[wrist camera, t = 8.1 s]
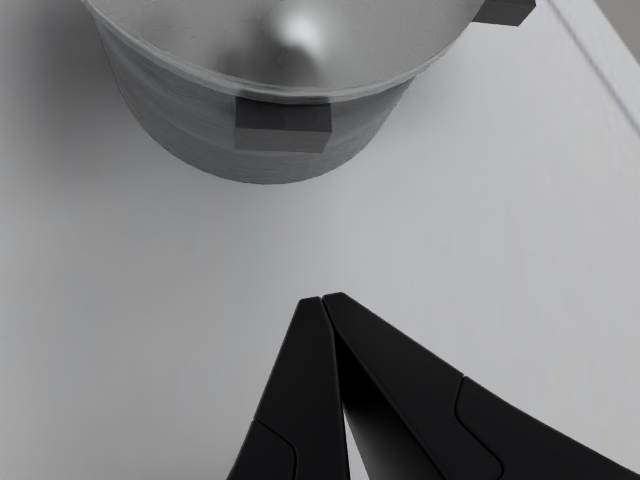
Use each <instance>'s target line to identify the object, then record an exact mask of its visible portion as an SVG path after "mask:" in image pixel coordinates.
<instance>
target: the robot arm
mask: <svg viewBox="0 0 640 480" xmlns="http://www.w3.org/2000/svg"><path fill="white" fill-rule="evenodd" d="M343 410H344V413H345V416H346V418H347V421H348V424H349V427H350V429H351V432H352V435H353V437H354V440H355V442H356V445H357V448H358V450H359V453H360V455H361V458H362V461H363V463H364V466H365V469H366V471H367V474H368V476H369V479H370V480H640V474H637V473H635V472H633V471H631V470H629V469H627V468H625V467H623V466H621V465H619V464H618V463H616V462H614V461H612V460H610V459H608V458H607V457H605V456H603V455H601V454H599V453H597V452H596V451H594V450H592V449H590V448H588V447H586V446H585V445H583V444H581V443H579V442H577V441H575V440H574V439H572V438H570V437H568V436H566V435H564V434H563V433H561V432H559V431H557V430H555V429H553V428H552V427H550V426H548V425H546V424H544V423H542V422H541V421H539V420H537V419H535V418H534V417H532V416H530V415H528V414H527V413H525V412H523V411H521V410H520V409H518V408H516V407H514V406H513V405H511V404H509V403H508V402H506V401H504V400H503V399H501V398H500V397H498V396H497V395H495V394H493V393H492V392H490V391H489V390H487V389H486V388H484V387H483V386H481V385H480V384H478V383H477V382H475V381H474V380H472V379H471V378H469V377H468V376H465V377H464V374H463V373H462V372H460V371H459V370H457V369H456V368H454V367H453V366H451V365H450V364H448V363H447V362H445V361H444V360H442V359H441V358H439V357H438V356H436V355H435V354H434V353H432V352H431V351H429V350H428V349H426V348H425V347H423V346H422V345H420V344H419V343H417V342H416V341H414V340H413V339H411V338H410V337H408V336H407V335H405V334H404V333H402V332H401V331H400V330H398V329H397V328H395V327H394V326H392V325H391V324H389V323H388V322H386V321H385V320H383V319H382V318H380V317H379V316H377V315H376V314H374V313H373V312H371V311H370V310H369V309H367V308H366V307H364V306H363V305H361V304H360V303H358V302H357V301H355V300H354V299H352V298H351V297H349V296H348V295H346V294H345V293H343V292H338V293H333V294H327V295H324V296H323V297H322V299H321V298H320V297H318V296H316V297H311V298H305V299H301V300H300V301H299V302H298V304H297V307H296V309H295V312H294V315H293V317H292V320H291V322H290V325H289V327H288V330H287V333H286V335H285V338H284V340H283V343H282V345H281V348H280V351H279V353H278V356H277V358H276V361H275V363H274V366H273V369H272V371H271V374H270V376H269V379H268V381H267V384H266V387H265V389H264V392H263V394H262V397H261V399H260V402H259V405H258V407H257V410H256V412H255V415H254V418H253V421H252V422H251V425H250V427H249V430H248V432H247V435H246V437H245V440H244V442H243V445H242V447H241V449H240V451H239V454H238V456H237V458H236V461H235V463H234V465H233V467H232V469H231V471H230V473H229V475H228V477H227V479H226V480H351V479H350V470H349V460H348V451H347V442H346V432H345V423H344V413H343Z"/></svg>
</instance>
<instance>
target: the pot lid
mask: <svg viewBox="0 0 640 480" xmlns="http://www.w3.org/2000/svg"><path fill="white" fill-rule="evenodd" d="M80 1H81V2H82V3H83V4H84V5H85V6H86V7H87V9H88V10H89V11H90V12H91V13H92V14H93V15H94V16H95V17H96V18H97V19H98V20H99V22H100V23H101V24H102V25H104V26H105V27H106V28H107V29H108V30H109V31H111V32H112V33H113V34H114V35H115V36H117V37H118V38H119V39H120V40H121V41H123V42H124V43H125V44H126V45H127V46H129V47H130V48H132V49H133V50H135V51H136V52H138V53H139V54H141V55H142V56H144V57H146V58H147V59H149V60H150V61H152V62H153V63H155V64H156V65H158V66H160V67H162V68H164V69H166V70H168V71H170V72H172V73H174V74H176V75H178V76H180V77H182V78H184V79H186V80H188V81H191V82H194V83H196V84H199V85H202V86H205V87H207V88H210V89H213V90H216V91H218V92H221V93H226V94H230V95H234V96H238V97H242V98H247V99H251V100H256V101H264V102H273V103H281V104H325V103H333V102H341V101H349V100H353V99H357V98H361V97H365V96H369V95H373V94H376V93H379V92H382V91H384V90H387V89H389V88H392V87H394V86H396V85H399V84H401V83H404V82H405V81H407V80H409V79H410V78H412V77H414V76H415V75H417V74H419V73H420V72H422V71H424V70H425V69H427V68H428V67H429V66H430V65H432V64H433V63H434V62H435V61H437V60H438V59H439V58H440V57H441V56H443V55H444V54H445V53H446V52H447V51H448V50H449V48H450V47H451V46H452V45H453V44H454V43H455V42H456V41H457V39H458V38H459V37H460V36H461V35H462V33H463V32H464V31H465V29H466V28H467V27H468V25H469V24H470V22H471V21H472V20H473V18H474V17H475V16H476V14H477V12H478V11H479V9H480V8H481V6H482V4H483V3H484V1H485V0H80Z"/></svg>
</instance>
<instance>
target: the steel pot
mask: <svg viewBox="0 0 640 480" xmlns="http://www.w3.org/2000/svg"><path fill="white" fill-rule="evenodd" d="M535 7H536V3H535V0H485V1H484V3H483V4H482V6H481V8H480V9H479V11H478V12H477V14H476V16H475V17H474V18H473V20H472V21H471V22H480V23H490V24H500V25H510V26H519V25H520V24H521V23H522V22H523V20H524V19H525V18H526V17H527V16H528V15H529V14H530V13H531V11H532V10H533V9H534V8H535ZM91 14H92V13H91ZM92 17H93V19H94V22H95V25H96V27H97V30H98V33H99V35H100V38H101V41H102V44H103V46H104V49H105V52H106V54H107V57H108V60H109V62H110V65H111V68H112V70H113V73H114V76H115V78H116V81H117V84H118V86H119V89H120V92H121V94H122V96H123V98H124V100H125V102H126V104H127V106H128V107H129V109H130V110H131V112H132V113H133V115H134V116H135V118H136V119H137V121H138V122H139V123H140V125H141V126H142V127H143V128H144V129H145V130H146V131H147V132H148V133H149V134H150V136H151V137H152V138H153V139H154V140H156V141H157V142H158V143H159V144H160V145H161V146H163V147H164V148H165V149H166V150H167V151H169V152H170V153H172V154H173V155H175V156H176V157H178V158H179V159H181V160H182V161H184V162H186V163H188V164H190V165H192V166H194V167H196V168H198V169H200V170H202V171H204V172H207V173H210V174H213V175H215V176H218V177H221V178H224V179H229V180H234V181H238V182H243V183H253V184H285V183H291V182H297V181H303V180H306V179H310V178H313V177H316V176H320V175H322V174H324V173H327V172H329V171H331V170H333V169H335V168H337V167H339V166H341V165H342V164H344V163H345V162H347V161H349V160H350V159H352V158H353V157H354V156H355V155H356V154H358V153H359V152H360V151H361V150H362V149H363V148H365V146H366V145H367V144H368V143H369V142H370V141H371V140H372V138H373V137H374V136H375V135H376V133H377V132H378V130H379V129H380V128H381V126H382V125H383V123H384V122H385V120H386V119H387V117H388V116H389V114H390V113H391V111H392V110H393V108H394V107H395V106H396V104H397V103H398V101H399V100H400V98H401V97H402V95H403V94H404V92H405V91H406V89H407V88H408V86H409V85H410V83H411V82H412V81H413V79H414V78H415V76H416V75H415V76H414V77H412V78H410V79H409V80H407V81H405V82H404V83H401V84H399V85H396V86H394V87H392V88H389V89H387V90H384V91H382V92H379V93H376V94H373V95H369V96H365V97H361V98H357V99H353V100H349V101H341V102H333V103H325V104H281V103H273V102H264V101H256V100H251V99H247V98H242V97H238V96H234V95H230V94H226V93H221V92H218V91H216V90H213V89H210V88H207V87H205V86H202V85H199V84H196V83H194V82H191V81H188V80H186V79H184V78H182V77H180V76H178V75H176V74H174V73H172V72H170V71H168V70H166V69H164V68H162V67H160V66H158V65H156V64H155V63H153V62H152V61H150V60H149V59H147V58H146V57H144V56H142V55H141V54H139V53H138V52H136V51H135V50H133V49H132V48H130V47H129V46H127V45H126V44H125V43H124V42H123V41H121V40H120V39H119V38H118V37H117V36H115V35H114V34H113V33H112V32H111V31H109V30H108V29H107V28H106V27H105V26H104V25H102V24H101V23H100V22H99V20H98V19H97V18H96V17H95V16H94V15H93V14H92Z"/></svg>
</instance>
